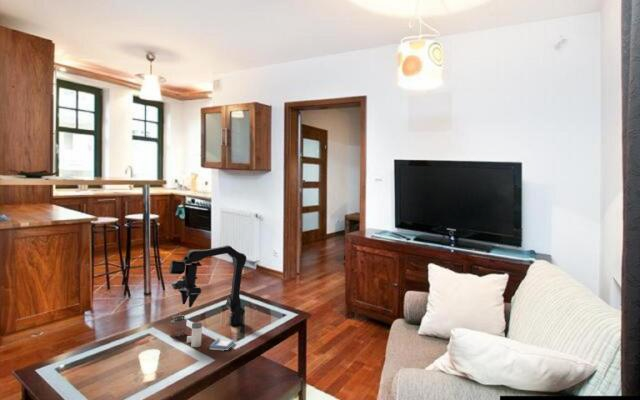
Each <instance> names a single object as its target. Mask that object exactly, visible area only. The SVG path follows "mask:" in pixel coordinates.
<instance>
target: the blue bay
mask: <svg viewBox="0 0 640 400" xmlns="http://www.w3.org/2000/svg"><path fill="white" fill-rule="evenodd" d="M234 342H235V339H231V341H228V340H227V341H226V340H220V338H216V339H215V340H214V341H213V342H212V343H210V345H209V350H213V351H214V350H215V351H224V350H228V349H229V348H230V347H231V348H232V346H233V345H234V344H235V343H234ZM233 343H234V344H233ZM231 348H230V349H231ZM230 349H229V350H230ZM229 350H228V351H229Z"/></svg>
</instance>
